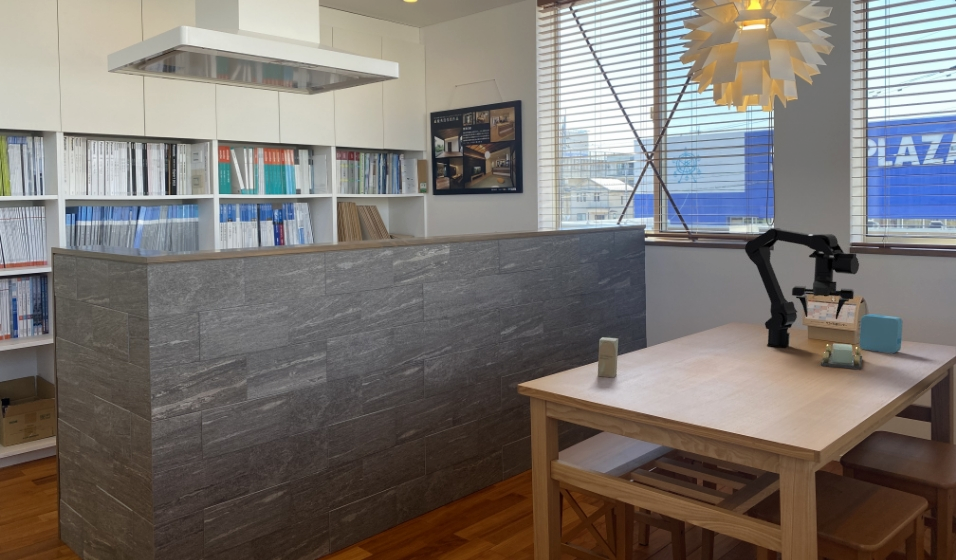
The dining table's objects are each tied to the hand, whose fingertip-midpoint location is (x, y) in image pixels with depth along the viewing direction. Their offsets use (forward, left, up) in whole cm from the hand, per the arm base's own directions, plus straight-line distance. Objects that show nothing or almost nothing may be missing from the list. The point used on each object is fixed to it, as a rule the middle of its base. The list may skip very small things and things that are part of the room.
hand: (821, 317), depth 259 cm
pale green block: (+8, -12, -11) cm, 18 cm away
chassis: (+8, -12, -12) cm, 19 cm away
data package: (+18, +14, -12) cm, 26 cm away
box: (-53, -65, -12) cm, 85 cm away
